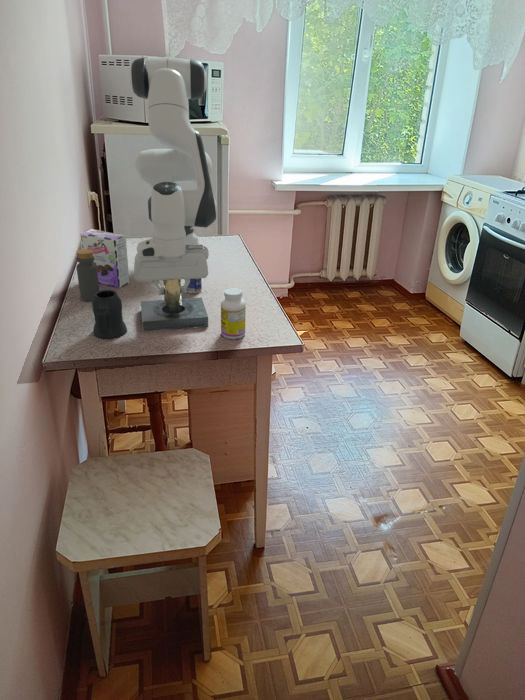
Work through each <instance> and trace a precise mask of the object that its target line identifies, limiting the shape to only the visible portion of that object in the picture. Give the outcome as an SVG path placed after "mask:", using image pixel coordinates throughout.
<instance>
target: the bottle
mask: <svg viewBox="0 0 525 700" xmlns="http://www.w3.org/2000/svg"><path fill="white" fill-rule="evenodd" d="M75 253H76V255H77V256H76V262H77V265H76V267H75V269H76V273H77V280H78V289H79V295H80V300H81V301H83V302H89V303H90V302H92V301H93V299H94V296H95V293H96V292H98V291H101V290H100V289H101V288H100V283H99V281H98V273H97V266H96V264H95V263H93V261H94V256H93V251H92V250H90V249H83V248H82V249H78V250H77V251H76V252H75Z"/></svg>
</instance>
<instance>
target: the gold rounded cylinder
mask: <svg viewBox="0 0 525 700" xmlns="http://www.w3.org/2000/svg"><path fill="white" fill-rule="evenodd" d="M162 283H163V284H162V285H163V287H164V295H163V296H164V297H163V298H164V299H163V300H164V301H165V305H166V306H168V307H178V306H180V305H181V304H182V299H183V298H182V294H181V286H182V279H170V280H162Z"/></svg>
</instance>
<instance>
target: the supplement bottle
mask: <svg viewBox="0 0 525 700" xmlns="http://www.w3.org/2000/svg"><path fill="white" fill-rule="evenodd" d="M223 294H224V298H223V299H222V300H221V301H220V334H221V336H222V337H223V338H225V339H227V340H238V339H242V338H243V337H245V335H246V310H247V309H246V305H247V303H246V300H245V299H243V291H242V290H241V289H240V288H236V287H232V288H227V289H225V290H224V292H223Z"/></svg>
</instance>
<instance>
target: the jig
mask: <svg viewBox="0 0 525 700" xmlns="http://www.w3.org/2000/svg"><path fill="white" fill-rule="evenodd" d="M140 308H141V309H140V310H141V322H142V332H153V331H167V330H179V329H180V330H181V329H195V328H209V316H208V313H207V309H206V306H205V303H204V300H203V298H202V297H191V298H190V297H189V298H188V297H187V298H182V304H181V305H180V306H178V307H168V306H166V305H165V301H164V299H156V300H155V299H154V300H141V301H140Z"/></svg>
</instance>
